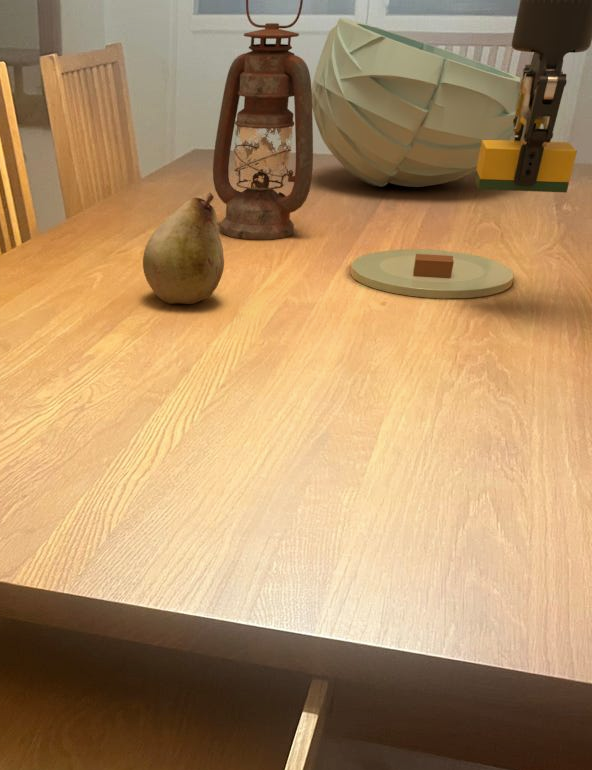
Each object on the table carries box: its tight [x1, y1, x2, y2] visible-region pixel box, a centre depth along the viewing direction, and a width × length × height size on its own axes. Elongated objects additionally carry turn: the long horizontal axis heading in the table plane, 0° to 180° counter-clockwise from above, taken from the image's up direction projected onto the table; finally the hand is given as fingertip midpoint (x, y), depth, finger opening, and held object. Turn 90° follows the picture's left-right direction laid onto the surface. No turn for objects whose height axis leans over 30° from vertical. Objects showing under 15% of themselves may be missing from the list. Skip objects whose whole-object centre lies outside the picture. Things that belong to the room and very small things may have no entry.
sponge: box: [474, 140, 578, 193], centre depth 104 cm, size 9×6×4 cm, turn 77°
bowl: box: [311, 17, 521, 188], centre depth 167 cm, size 35×35×22 cm
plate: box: [350, 248, 515, 300], centre depth 123 cm, size 20×20×1 cm
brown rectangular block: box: [413, 254, 454, 278], centre depth 120 cm, size 4×3×2 cm, turn 75°
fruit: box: [142, 192, 225, 305], centre depth 112 cm, size 10×9×12 cm
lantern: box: [212, 0, 314, 241], centre depth 134 cm, size 11×16×35 cm
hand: (520, 179), depth 105 cm, fingers closed on sponge, 6 cm apart
